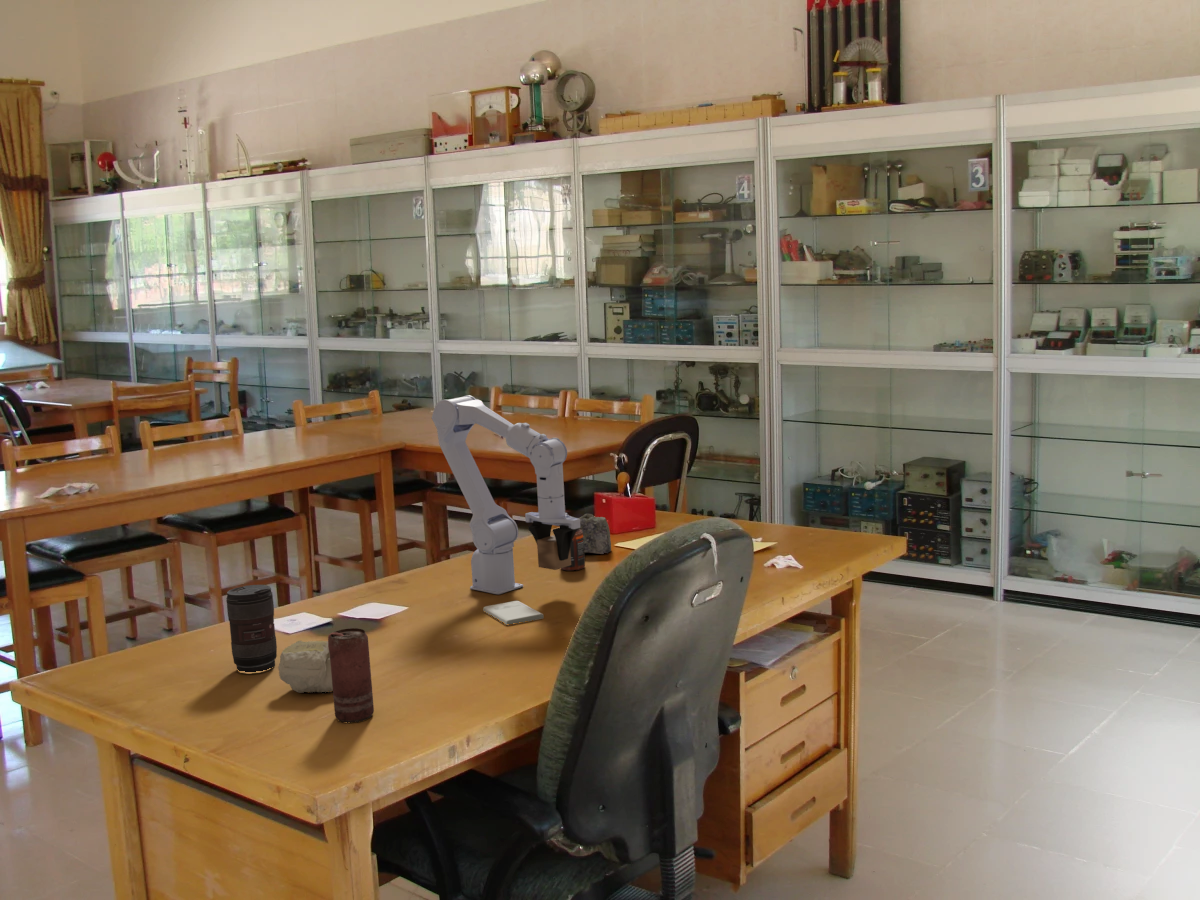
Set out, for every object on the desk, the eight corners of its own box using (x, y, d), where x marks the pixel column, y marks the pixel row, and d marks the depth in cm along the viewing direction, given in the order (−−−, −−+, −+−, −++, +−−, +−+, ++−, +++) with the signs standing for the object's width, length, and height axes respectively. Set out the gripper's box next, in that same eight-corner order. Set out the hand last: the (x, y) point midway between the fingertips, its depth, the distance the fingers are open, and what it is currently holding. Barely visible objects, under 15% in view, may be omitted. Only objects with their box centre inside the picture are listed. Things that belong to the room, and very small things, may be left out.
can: (336, 711, 188) (329, 628, 186) (375, 708, 188) (369, 625, 186) (331, 725, 182) (323, 640, 180) (371, 722, 182) (364, 637, 180)
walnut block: (538, 567, 248) (536, 539, 248) (554, 562, 252) (553, 535, 251) (555, 570, 245) (553, 542, 244) (571, 564, 249) (569, 537, 248)
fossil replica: (355, 695, 196) (347, 681, 205) (354, 646, 195) (346, 635, 205) (281, 701, 192) (277, 687, 201) (281, 651, 191) (276, 640, 201)
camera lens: (288, 662, 214) (280, 584, 211) (262, 677, 206) (254, 596, 204) (251, 659, 216) (243, 582, 214) (224, 674, 209) (216, 594, 207)
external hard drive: (506, 628, 230) (483, 613, 241) (544, 621, 234) (519, 606, 244) (506, 620, 230) (482, 606, 241) (543, 613, 233) (518, 599, 244)
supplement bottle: (586, 564, 275) (584, 518, 273) (583, 571, 269) (581, 524, 267) (561, 565, 275) (559, 519, 274) (558, 571, 270) (555, 524, 268)
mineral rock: (551, 555, 287) (549, 515, 285) (577, 545, 295) (575, 507, 294) (593, 560, 279) (591, 519, 278) (618, 550, 288) (616, 511, 286)
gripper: (588, 495, 244) (591, 558, 246) (539, 489, 254) (543, 549, 256) (565, 501, 239) (569, 565, 241) (517, 495, 249) (520, 556, 251)
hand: (554, 557), depth 248 cm, fingers closed on walnut block, 5 cm apart
